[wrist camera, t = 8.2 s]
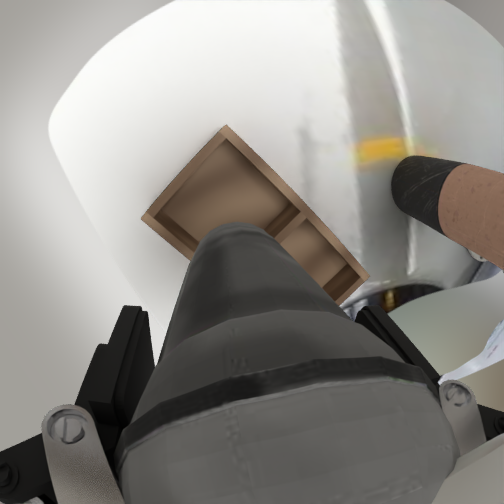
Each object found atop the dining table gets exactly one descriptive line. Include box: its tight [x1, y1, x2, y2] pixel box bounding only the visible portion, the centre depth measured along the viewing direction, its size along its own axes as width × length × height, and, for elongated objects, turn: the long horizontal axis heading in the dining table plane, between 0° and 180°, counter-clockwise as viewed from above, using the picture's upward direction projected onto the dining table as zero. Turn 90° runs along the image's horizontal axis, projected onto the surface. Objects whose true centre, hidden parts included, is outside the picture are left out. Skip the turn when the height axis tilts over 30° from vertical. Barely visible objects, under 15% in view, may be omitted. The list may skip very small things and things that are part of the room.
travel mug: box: [392, 156, 504, 270], centre depth 22 cm, size 8×8×20 cm
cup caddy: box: [141, 125, 370, 306], centre depth 29 cm, size 20×11×4 cm, turn 45°
